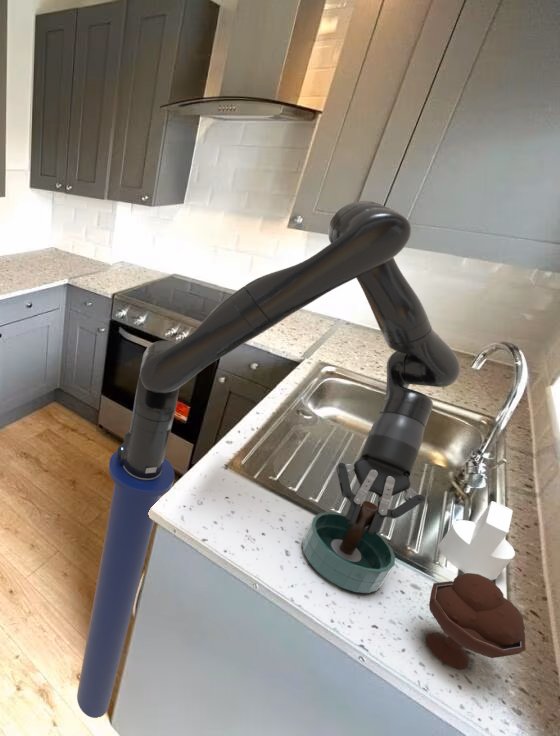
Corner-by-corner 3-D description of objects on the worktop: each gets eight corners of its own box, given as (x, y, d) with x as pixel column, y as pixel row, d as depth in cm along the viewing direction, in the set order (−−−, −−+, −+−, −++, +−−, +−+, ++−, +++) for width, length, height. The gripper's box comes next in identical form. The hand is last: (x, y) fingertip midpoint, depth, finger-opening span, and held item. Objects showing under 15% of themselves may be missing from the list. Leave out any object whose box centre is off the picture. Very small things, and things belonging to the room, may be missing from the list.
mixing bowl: (294, 565, 81) (306, 541, 78) (308, 524, 91) (318, 501, 88) (377, 610, 74) (393, 586, 71) (382, 560, 84) (396, 537, 81)
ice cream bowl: (401, 650, 68) (445, 589, 62) (411, 604, 76) (452, 545, 69) (489, 707, 62) (550, 646, 55) (491, 651, 69) (545, 591, 62)
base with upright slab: (443, 533, 91) (471, 491, 85) (500, 563, 85) (534, 519, 79) (434, 556, 85) (464, 512, 80) (494, 589, 79) (531, 544, 74)
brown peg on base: (326, 556, 81) (352, 506, 75) (330, 539, 85) (355, 490, 79) (357, 572, 78) (386, 521, 73) (360, 554, 82) (388, 505, 76)
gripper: (353, 421, 80) (319, 506, 77) (448, 455, 72) (414, 551, 69) (346, 432, 86) (314, 511, 83) (433, 464, 79) (401, 552, 75)
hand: (360, 529), depth 76 cm, fingers closed on brown peg on base
